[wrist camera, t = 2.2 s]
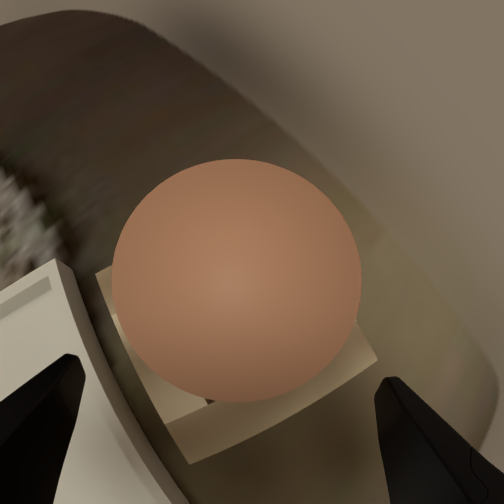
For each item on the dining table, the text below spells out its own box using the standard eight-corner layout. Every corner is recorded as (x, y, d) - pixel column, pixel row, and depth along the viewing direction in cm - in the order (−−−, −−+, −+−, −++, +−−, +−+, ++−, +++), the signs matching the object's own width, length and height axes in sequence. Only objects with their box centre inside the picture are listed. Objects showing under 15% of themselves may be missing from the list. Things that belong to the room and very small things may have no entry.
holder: (357, 359, 18) (377, 359, 15) (195, 448, 16) (189, 464, 13) (269, 209, 21) (275, 186, 18) (113, 285, 19) (95, 273, 16)
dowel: (290, 343, 18) (402, 317, 6) (215, 383, 17) (182, 444, 5) (250, 271, 20) (282, 131, 7) (176, 308, 18) (82, 220, 6)
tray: (215, 534, 14) (213, 554, 11) (64, 562, 11) (51, 575, 9) (72, 269, 19) (54, 258, 16) (-46, 341, 16) (-66, 337, 13)
